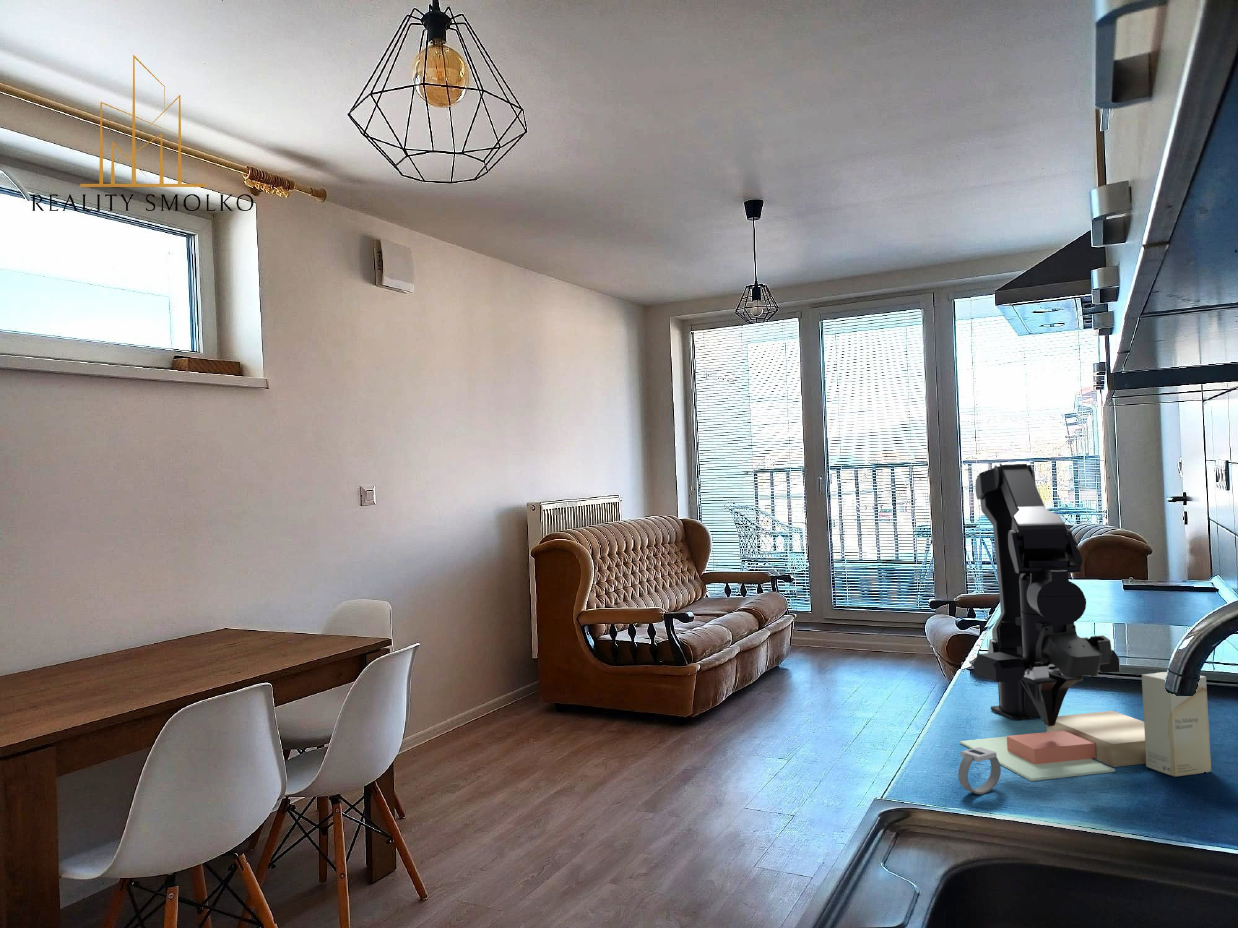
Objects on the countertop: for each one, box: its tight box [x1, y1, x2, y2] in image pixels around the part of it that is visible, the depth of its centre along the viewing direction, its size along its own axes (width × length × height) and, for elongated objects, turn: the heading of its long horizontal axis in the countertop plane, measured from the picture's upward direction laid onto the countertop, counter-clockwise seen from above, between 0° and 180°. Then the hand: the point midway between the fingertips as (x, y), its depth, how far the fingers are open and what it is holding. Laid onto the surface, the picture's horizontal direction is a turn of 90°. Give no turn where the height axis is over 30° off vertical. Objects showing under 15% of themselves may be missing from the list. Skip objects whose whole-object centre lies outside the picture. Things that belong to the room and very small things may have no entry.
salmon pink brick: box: [1006, 730, 1096, 764], centre depth 116 cm, size 9×6×2 cm, turn 99°
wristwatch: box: [957, 747, 1002, 795], centre depth 105 cm, size 6×3×5 cm, turn 117°
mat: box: [959, 735, 1116, 782], centre depth 116 cm, size 16×12×1 cm
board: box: [1046, 710, 1146, 768], centre depth 119 cm, size 13×11×3 cm
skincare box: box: [1141, 671, 1212, 777], centre depth 110 cm, size 6×4×12 cm
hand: (1049, 725), depth 117 cm, fingers closed
